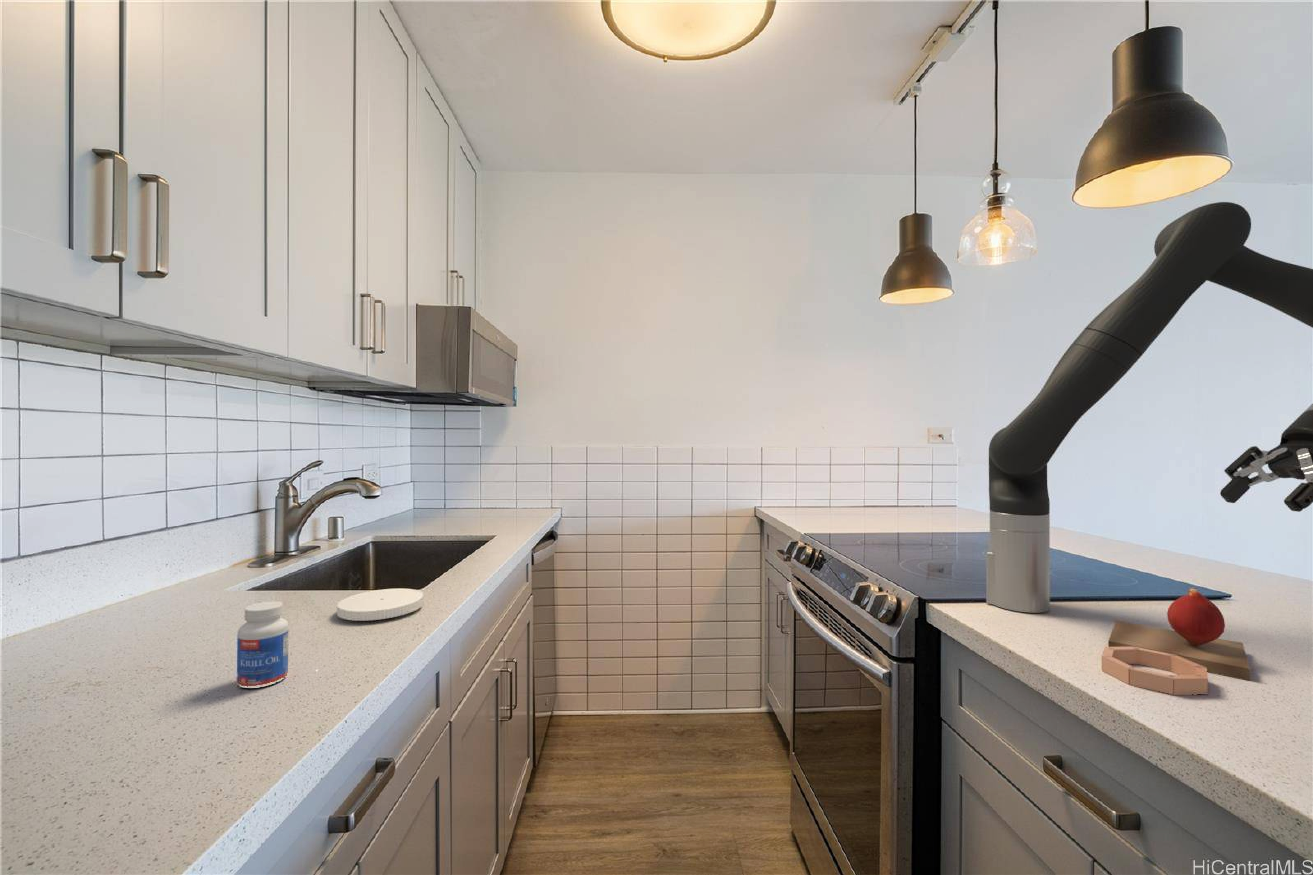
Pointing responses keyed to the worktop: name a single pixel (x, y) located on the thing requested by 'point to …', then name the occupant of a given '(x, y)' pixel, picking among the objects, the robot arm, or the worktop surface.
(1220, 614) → the onion
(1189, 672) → the ring holder
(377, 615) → the plastic lid
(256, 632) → the pill bottle
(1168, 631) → the walnut board
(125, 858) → the worktop surface
